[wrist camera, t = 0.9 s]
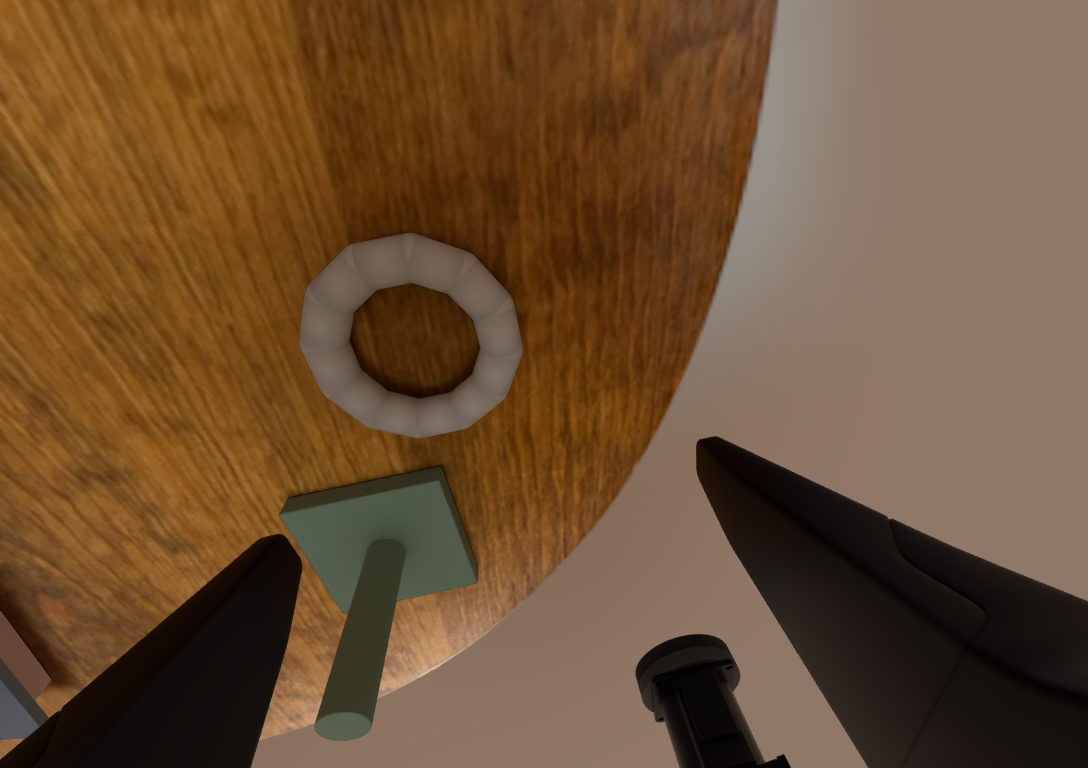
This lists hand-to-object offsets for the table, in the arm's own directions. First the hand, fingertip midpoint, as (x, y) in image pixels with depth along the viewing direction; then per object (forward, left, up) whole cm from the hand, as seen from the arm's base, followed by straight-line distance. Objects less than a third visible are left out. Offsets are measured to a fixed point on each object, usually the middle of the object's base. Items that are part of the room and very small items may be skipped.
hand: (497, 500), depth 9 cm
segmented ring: (0, +3, -10) cm, 11 cm away
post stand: (-11, +8, -11) cm, 18 cm away
